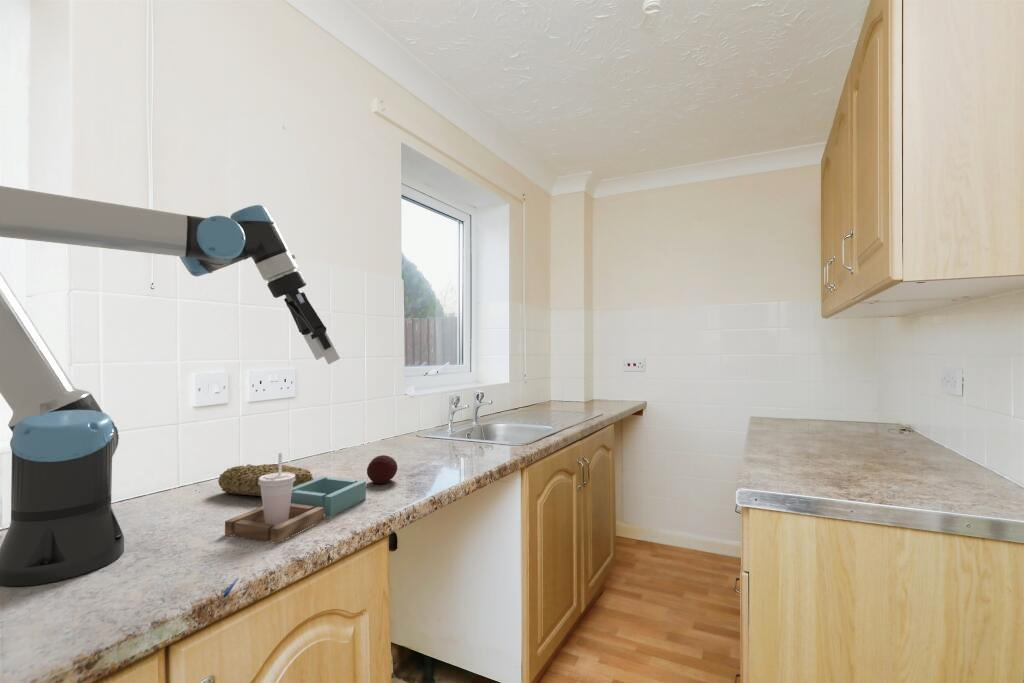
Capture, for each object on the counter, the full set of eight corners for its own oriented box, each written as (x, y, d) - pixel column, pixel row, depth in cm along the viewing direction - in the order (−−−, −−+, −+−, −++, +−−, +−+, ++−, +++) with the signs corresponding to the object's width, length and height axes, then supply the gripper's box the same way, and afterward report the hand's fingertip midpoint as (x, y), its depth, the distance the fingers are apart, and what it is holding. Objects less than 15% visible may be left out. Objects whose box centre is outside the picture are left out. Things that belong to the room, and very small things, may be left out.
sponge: (211, 502, 110) (274, 495, 103) (213, 467, 112) (275, 457, 105) (262, 497, 122) (321, 490, 114) (263, 465, 124) (321, 456, 116)
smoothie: (302, 525, 93) (302, 452, 93) (270, 536, 88) (271, 459, 88) (282, 518, 97) (283, 448, 97) (250, 529, 91) (251, 454, 91)
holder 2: (330, 516, 98) (330, 496, 98) (282, 510, 102) (283, 491, 102) (365, 498, 109) (365, 481, 109) (321, 493, 113) (321, 476, 113)
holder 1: (277, 543, 85) (277, 529, 85) (224, 534, 88) (225, 521, 88) (324, 520, 96) (324, 507, 96) (275, 513, 100) (275, 501, 100)
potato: (401, 478, 127) (401, 451, 127) (391, 487, 118) (391, 458, 119) (374, 477, 127) (374, 450, 128) (362, 486, 119) (362, 458, 119)
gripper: (308, 264, 99) (356, 355, 105) (290, 273, 120) (330, 348, 126) (272, 278, 96) (323, 371, 102) (260, 285, 117) (303, 362, 123)
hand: (327, 359), depth 114 cm, fingers open, 13 cm apart
